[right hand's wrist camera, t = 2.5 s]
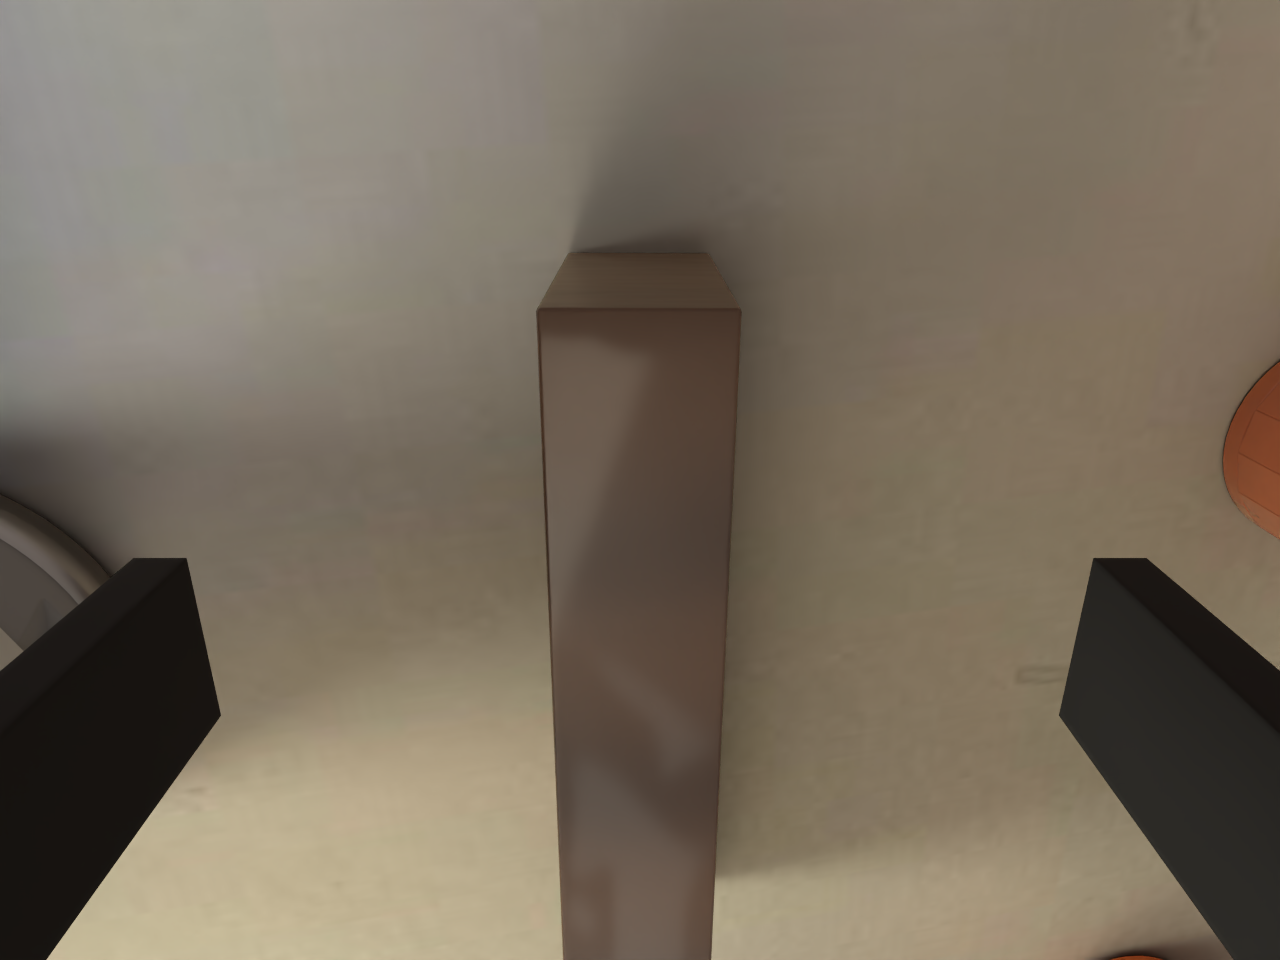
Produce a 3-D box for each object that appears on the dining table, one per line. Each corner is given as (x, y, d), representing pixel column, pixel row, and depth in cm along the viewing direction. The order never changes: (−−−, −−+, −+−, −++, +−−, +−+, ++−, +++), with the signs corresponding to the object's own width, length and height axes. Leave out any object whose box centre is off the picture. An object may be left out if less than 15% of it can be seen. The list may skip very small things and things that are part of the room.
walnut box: (689, 885, 37) (704, 1108, 28) (584, 885, 37) (568, 1108, 28) (709, 252, 27) (741, 308, 18) (567, 252, 27) (535, 308, 18)
